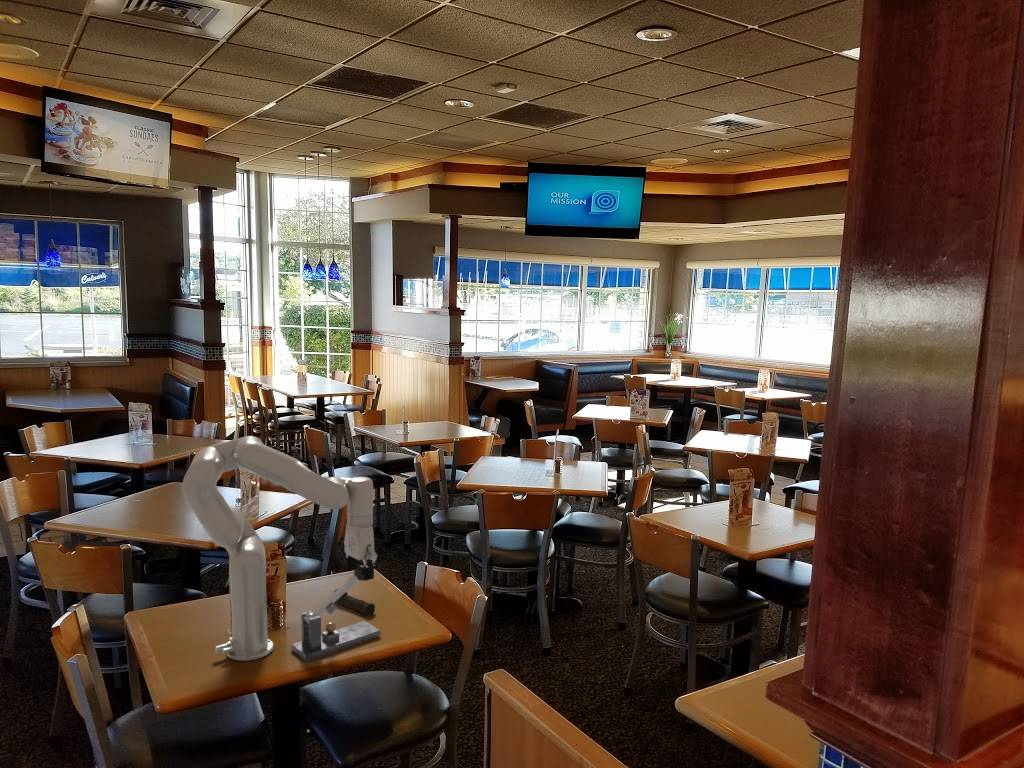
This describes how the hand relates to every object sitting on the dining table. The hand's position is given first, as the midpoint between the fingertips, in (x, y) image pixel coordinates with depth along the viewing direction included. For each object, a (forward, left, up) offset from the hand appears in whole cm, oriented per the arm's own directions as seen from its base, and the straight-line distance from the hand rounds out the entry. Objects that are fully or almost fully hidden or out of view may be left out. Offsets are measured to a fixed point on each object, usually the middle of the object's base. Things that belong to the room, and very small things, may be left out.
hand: (360, 574), depth 219 cm
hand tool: (+8, +20, -19) cm, 29 cm away
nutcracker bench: (-9, 0, -19) cm, 21 cm away
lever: (-6, 0, -6) cm, 9 cm away
